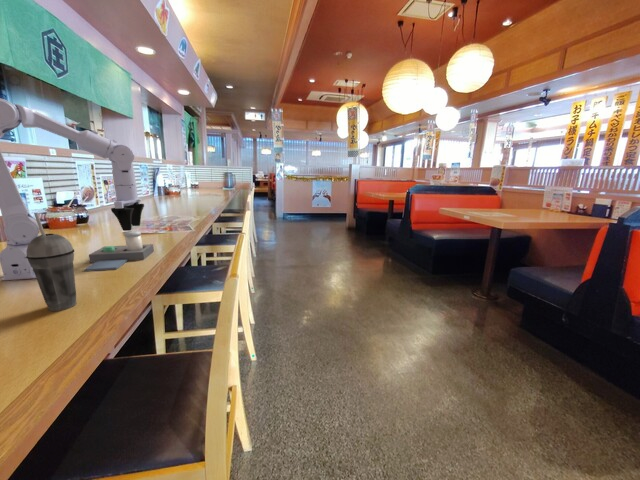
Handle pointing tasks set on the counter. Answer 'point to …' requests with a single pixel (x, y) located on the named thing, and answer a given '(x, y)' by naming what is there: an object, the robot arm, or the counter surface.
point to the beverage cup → (53, 268)
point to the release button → (109, 248)
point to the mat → (106, 265)
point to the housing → (121, 253)
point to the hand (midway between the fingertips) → (131, 228)
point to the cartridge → (133, 240)
